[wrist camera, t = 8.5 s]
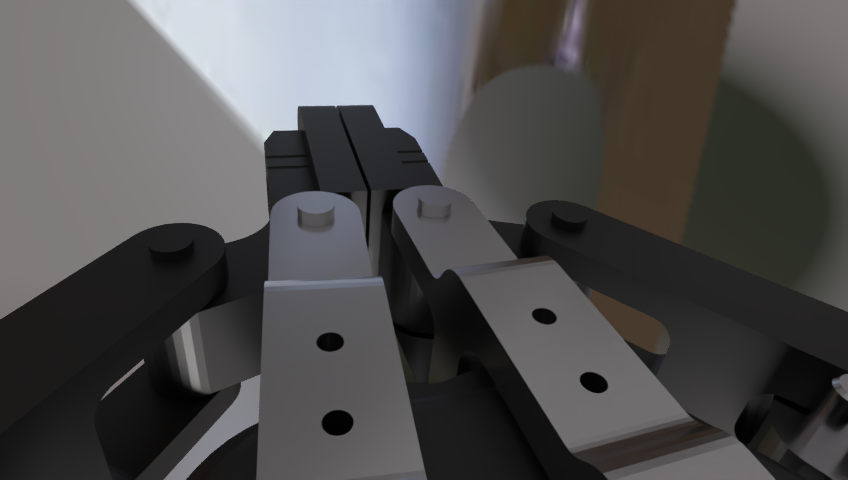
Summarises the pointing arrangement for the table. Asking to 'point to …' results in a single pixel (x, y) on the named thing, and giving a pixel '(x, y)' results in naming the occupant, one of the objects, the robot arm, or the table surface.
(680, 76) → the table surface
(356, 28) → the table surface
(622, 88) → the table surface
